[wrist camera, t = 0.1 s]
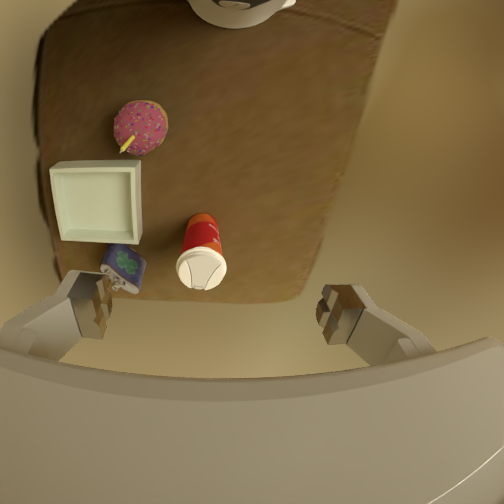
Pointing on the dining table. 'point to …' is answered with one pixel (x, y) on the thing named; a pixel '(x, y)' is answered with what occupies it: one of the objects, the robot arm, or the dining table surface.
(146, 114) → the cupcake
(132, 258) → the flask
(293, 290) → the dining table surface
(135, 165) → the serving bin
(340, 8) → the dining table surface
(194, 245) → the paper cup
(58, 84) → the dining table surface
